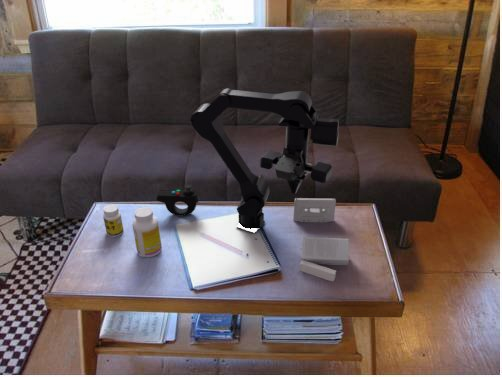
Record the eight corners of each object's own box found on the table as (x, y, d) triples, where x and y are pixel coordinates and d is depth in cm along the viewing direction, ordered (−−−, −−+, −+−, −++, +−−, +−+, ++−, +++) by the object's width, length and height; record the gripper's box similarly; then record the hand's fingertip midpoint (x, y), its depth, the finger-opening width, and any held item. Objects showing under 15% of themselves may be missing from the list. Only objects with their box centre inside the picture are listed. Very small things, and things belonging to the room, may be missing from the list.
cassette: (333, 219, 139) (335, 197, 135) (334, 222, 138) (336, 201, 134) (293, 218, 140) (294, 197, 136) (293, 222, 138) (294, 200, 134)
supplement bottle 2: (166, 246, 128) (161, 208, 122) (152, 261, 123) (146, 221, 117) (146, 240, 131) (140, 202, 124) (132, 254, 126) (125, 215, 119)
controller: (198, 218, 140) (196, 190, 135) (157, 218, 140) (154, 190, 135) (200, 210, 144) (198, 182, 138) (160, 210, 144) (156, 182, 138)
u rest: (299, 270, 120) (300, 263, 119) (315, 246, 128) (316, 239, 127) (333, 281, 116) (334, 274, 115) (347, 256, 125) (348, 249, 123)
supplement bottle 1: (103, 235, 133) (98, 210, 129) (113, 226, 137) (108, 202, 132) (117, 238, 132) (112, 214, 127) (127, 229, 135) (122, 205, 131)
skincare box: (301, 263, 123) (348, 266, 120) (300, 258, 119) (348, 261, 117) (303, 241, 125) (348, 244, 123) (302, 236, 121) (349, 238, 119)
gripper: (250, 146, 117) (250, 198, 125) (320, 163, 109) (315, 217, 118) (269, 130, 125) (268, 180, 133) (335, 144, 118) (330, 196, 126)
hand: (294, 193), depth 127 cm, fingers closed
